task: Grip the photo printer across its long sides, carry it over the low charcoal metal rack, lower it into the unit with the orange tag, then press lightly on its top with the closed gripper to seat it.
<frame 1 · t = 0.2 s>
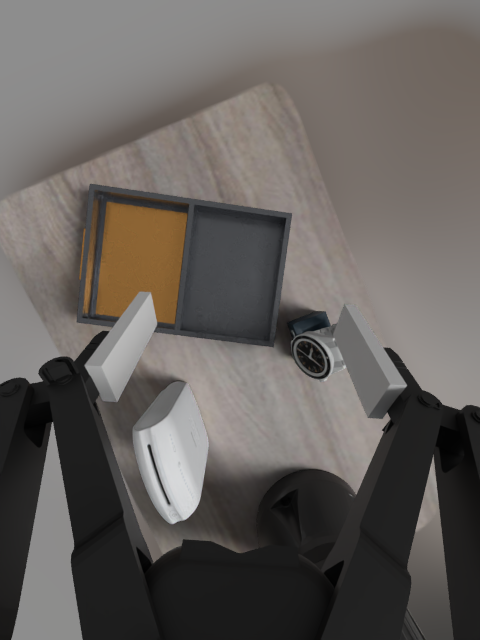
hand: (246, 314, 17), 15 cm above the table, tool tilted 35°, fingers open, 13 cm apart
watch: (307, 336, 32), on the table
photo printer: (187, 415, 33), on the table
rack: (189, 271, 31), on the table
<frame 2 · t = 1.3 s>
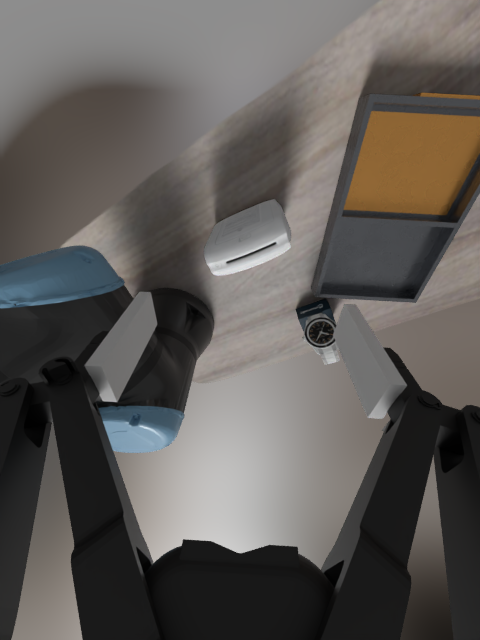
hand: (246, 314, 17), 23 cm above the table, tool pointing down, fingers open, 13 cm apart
watch: (313, 311, 44), on the table
photo printer: (248, 223, 35), on the table
rack: (387, 216, 33), on the table
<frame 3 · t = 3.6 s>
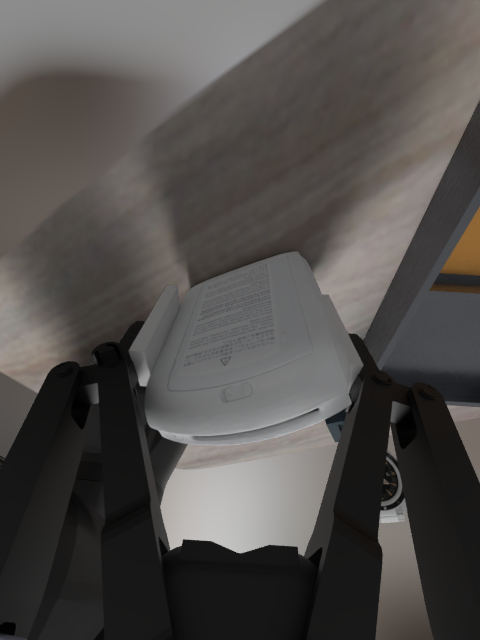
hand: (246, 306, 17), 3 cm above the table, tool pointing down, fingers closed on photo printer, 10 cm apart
watch: (346, 402, 29), on the table
photo printer: (246, 286, 20), on the table, touching gripper
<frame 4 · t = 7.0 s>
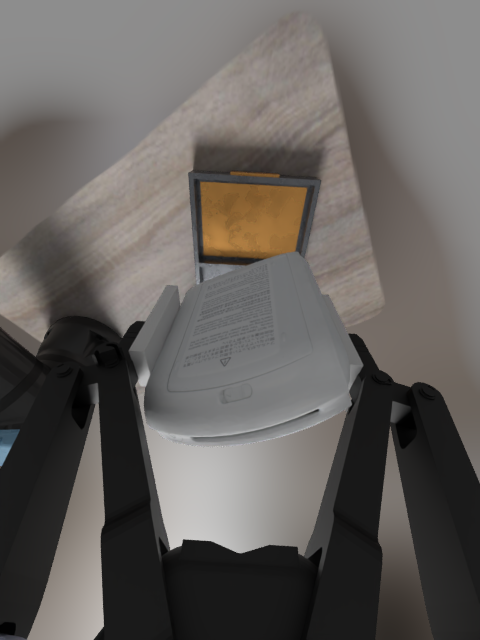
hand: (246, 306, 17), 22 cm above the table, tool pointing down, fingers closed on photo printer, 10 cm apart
photo printer: (246, 286, 20), point 19 cm above the table, touching gripper
rack: (248, 259, 38), on the table
when the fingers open (5 cm above the table, at t = 10.3 s): photo printer stays where it is, resting on rack.
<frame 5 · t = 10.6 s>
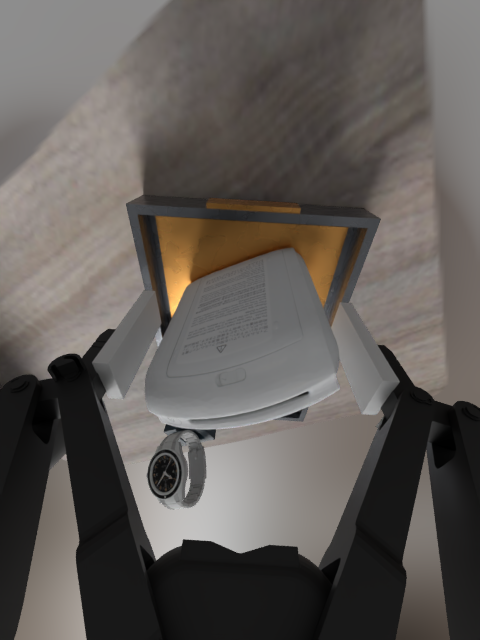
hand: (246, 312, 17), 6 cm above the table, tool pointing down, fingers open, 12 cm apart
watch: (193, 413, 35), on the table
photo printer: (244, 282, 20), point 1 cm above the table, touching rack
rack: (243, 327, 25), on the table
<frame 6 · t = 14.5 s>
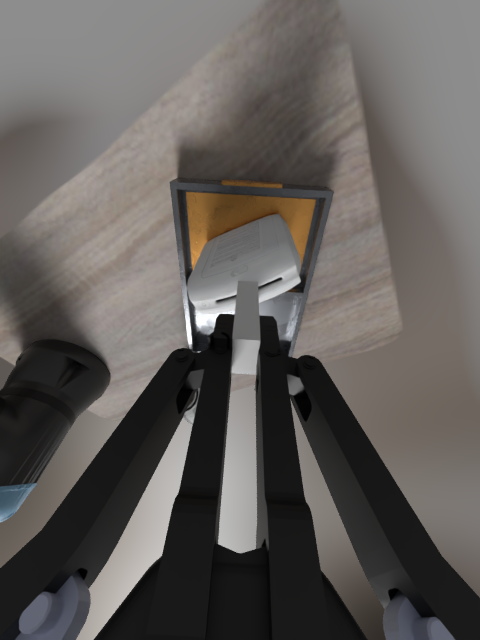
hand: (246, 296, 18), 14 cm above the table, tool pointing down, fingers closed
watch: (204, 361, 43), on the table
photo printer: (245, 241, 29), point 1 cm above the table, touching gripper, rack
rack: (245, 280, 33), on the table
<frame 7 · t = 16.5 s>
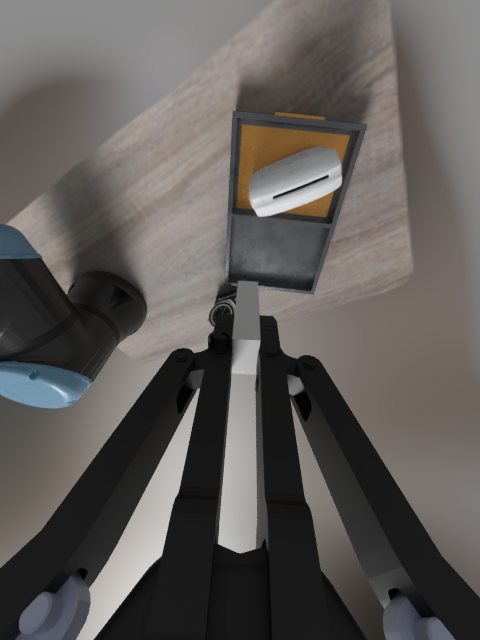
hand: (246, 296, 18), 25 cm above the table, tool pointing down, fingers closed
watch: (233, 299, 49), on the table
photo printer: (286, 174, 34), point 1 cm above the table, touching rack
rack: (280, 216, 38), on the table
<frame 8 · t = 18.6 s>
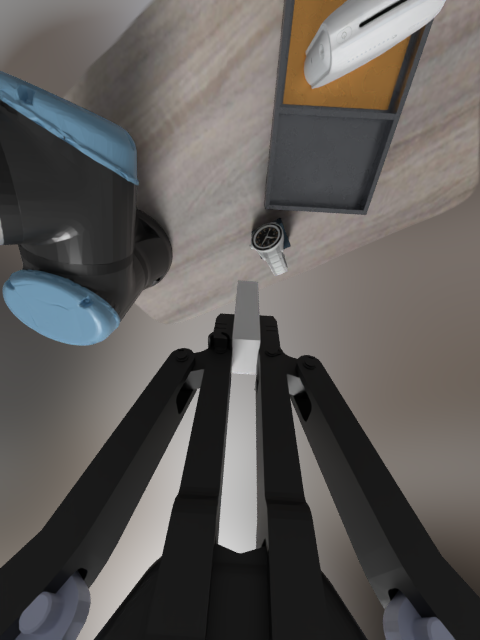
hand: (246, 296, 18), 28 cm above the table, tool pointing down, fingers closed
watch: (269, 235, 44), on the table
photo printer: (344, 52, 29), point 1 cm above the table, touching rack
rack: (331, 115, 33), on the table
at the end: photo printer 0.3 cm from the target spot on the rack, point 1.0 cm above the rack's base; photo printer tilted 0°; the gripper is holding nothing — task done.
